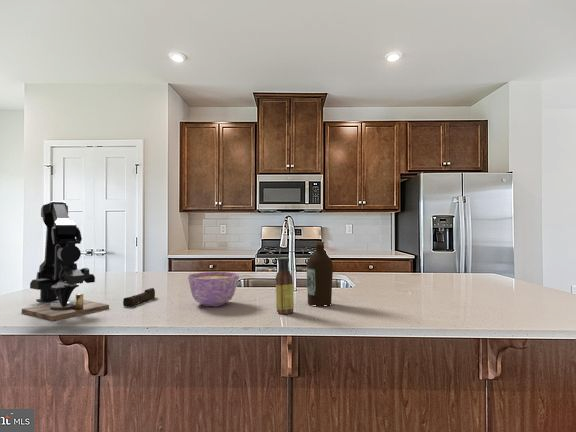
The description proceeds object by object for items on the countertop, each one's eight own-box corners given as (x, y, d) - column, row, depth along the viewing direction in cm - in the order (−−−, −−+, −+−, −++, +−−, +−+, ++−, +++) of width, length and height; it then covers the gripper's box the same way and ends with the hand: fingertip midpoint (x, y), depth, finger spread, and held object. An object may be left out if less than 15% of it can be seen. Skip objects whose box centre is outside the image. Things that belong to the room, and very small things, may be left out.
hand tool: (131, 308, 138) (131, 295, 139) (122, 307, 139) (122, 295, 140) (160, 298, 157) (160, 287, 157) (152, 297, 158) (152, 287, 158)
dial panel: (21, 312, 129) (21, 308, 129) (77, 302, 146) (78, 298, 146) (52, 320, 119) (52, 315, 119) (109, 308, 136) (109, 304, 136)
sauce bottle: (295, 311, 134) (296, 257, 134) (290, 315, 128) (290, 258, 128) (279, 310, 136) (279, 256, 136) (272, 313, 130) (273, 258, 130)
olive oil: (324, 300, 153) (325, 241, 153) (337, 306, 143) (338, 242, 144) (301, 302, 149) (302, 241, 149) (313, 308, 139) (314, 242, 139)
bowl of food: (249, 304, 145) (249, 275, 145) (206, 313, 131) (207, 280, 131) (218, 297, 159) (219, 270, 159) (177, 304, 144) (177, 275, 144)
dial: (44, 307, 131) (44, 293, 131) (72, 301, 139) (72, 288, 139) (66, 312, 124) (67, 297, 124) (95, 306, 132) (95, 292, 132)
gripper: (48, 264, 112) (47, 315, 112) (104, 259, 128) (104, 304, 128) (29, 262, 118) (28, 311, 117) (86, 257, 134) (85, 300, 134)
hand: (63, 306), depth 124 cm, fingers closed
